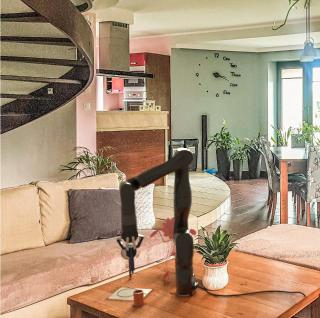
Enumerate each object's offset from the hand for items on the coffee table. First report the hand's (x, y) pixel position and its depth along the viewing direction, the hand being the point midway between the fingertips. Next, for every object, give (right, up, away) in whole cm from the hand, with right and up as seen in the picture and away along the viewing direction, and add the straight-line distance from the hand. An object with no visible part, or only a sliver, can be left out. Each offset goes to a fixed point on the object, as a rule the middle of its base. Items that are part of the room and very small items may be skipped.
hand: (131, 256), depth 216 cm
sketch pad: (-4, -22, +11) cm, 25 cm away
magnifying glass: (-9, -20, +33) cm, 40 cm away
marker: (0, -9, +1) cm, 9 cm away
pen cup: (+4, -24, -1) cm, 24 cm away
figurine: (+15, -19, +34) cm, 42 cm away
